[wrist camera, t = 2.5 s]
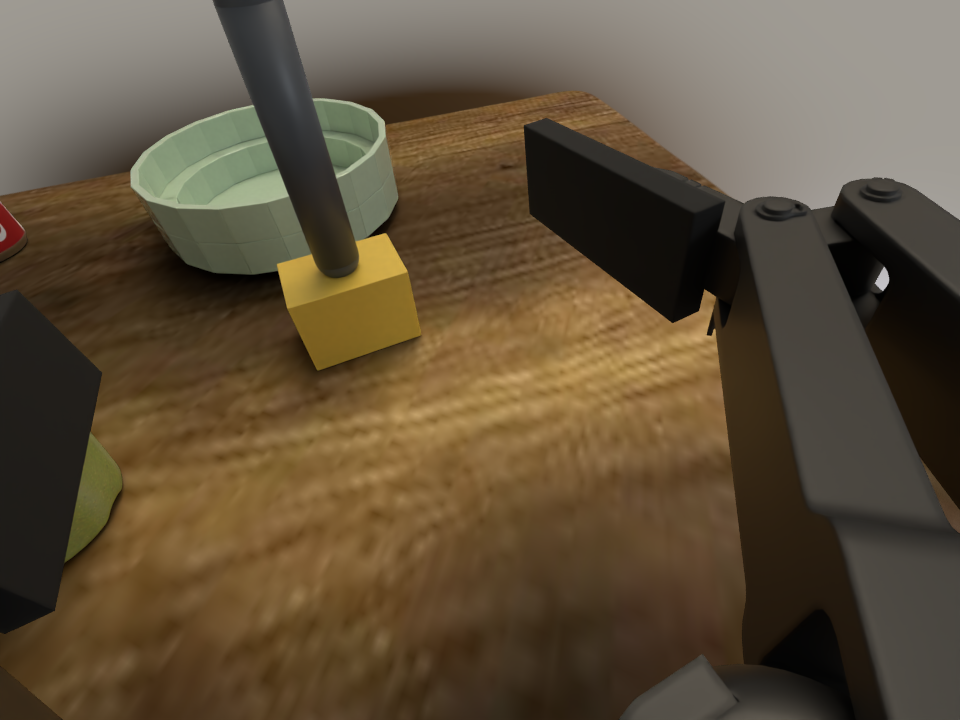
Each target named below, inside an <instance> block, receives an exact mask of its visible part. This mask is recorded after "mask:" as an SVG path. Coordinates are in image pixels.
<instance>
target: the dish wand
mask: <svg viewBox="0 0 960 720" xmlns="http://www.w3.org/2000/svg"><path fill="white" fill-rule="evenodd" d="M213 2H214V6H215V8H216V10H217V13H218V16H219V18H220V21H221V24H222V26H223V29H224V31H225V34H226V36H227V39H228V42H229V44H230V46H231V49H232V52H233V54H234V57H235V59H236V62H237V64H238V67H239V70H240V72H241V75H242V77H243V80H244V82H245V85H246V88H247V90H248V93H249V95H250V98H251V100H252V103H253V106H254V108H255V111H256V113H257V116H258V118H259V121H260V124H261V126H262V129H263V131H264V134H265V136H266V139H267V141H268V144H269V147H270V149H271V152H272V154H273V157H274V159H275V162H276V164H277V167H278V170H279V172H280V175H281V177H282V180H283V182H284V185H285V188H286V190H287V193H288V195H289V198H290V200H291V203H292V205H293V208H294V211H295V213H296V216H297V218H298V221H299V223H300V226H301V229H302V231H303V234H304V236H305V239H306V241H307V244H308V246H309V249H310V252H311V255H307V256H304V257H300V258H297V259H293V260H290V261H286V262H283V263H279V264H277V268H278V272H279V276H280V281H281V285H282V289H283V293H284V297H285V302H286V306H287V310H288V312H289V314H290V316H291V318H292V320H293V322H294V324H295V326H296V328H297V330H298V332H299V334H300V336H301V338H302V340H303V343H304V345H305V347H306V349H307V351H308V353H309V355H310V357H311V359H312V361H313V363H314V365H315V367H316V369H317V371H319V370H322V369H325V368H327V367H330V366H333V365H336V364H339V363H342V362H345V361H348V360H351V359H354V358H357V357H359V356H362V355H365V354H368V353H371V352H374V351H377V350H380V349H383V348H386V347H389V346H392V345H394V344H397V343H400V342H403V341H406V340H409V339H412V338H415V337H418V336H421V330H420V326H419V321H418V317H417V312H416V307H415V303H414V298H413V293H412V289H411V284H410V280H409V275H408V271H407V270H406V268H405V266H404V264H403V262H402V261H401V259H400V257H399V255H398V253H397V252H396V250H395V248H394V246H393V245H392V243H391V241H390V239H389V237H388V236H387V234H386V233H384V234H381V235H377V236H374V237H370V238H367V239H363V240H360V241H356V242H355V238H354V235H353V232H352V228H351V225H350V222H349V218H348V215H347V212H346V208H345V205H344V202H343V198H342V195H341V192H340V188H339V185H338V182H337V178H336V175H335V172H334V168H333V165H332V162H331V158H330V155H329V152H328V148H327V145H326V142H325V138H324V135H323V132H322V129H321V125H320V122H319V119H318V115H317V112H316V109H315V105H314V102H313V99H312V95H311V92H310V89H309V86H308V82H307V79H306V75H305V72H304V69H303V65H302V62H301V59H300V56H299V52H298V49H297V46H296V42H295V39H294V35H293V32H292V29H291V25H290V22H289V19H288V15H287V12H286V9H285V5H284V2H283V0H213Z"/></svg>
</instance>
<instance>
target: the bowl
mask: <svg viewBox="0 0 960 720" xmlns="http://www.w3.org/2000/svg"><path fill="white" fill-rule="evenodd" d="M313 102H314V105H315V109H316V112H317V115H318V119H319V122H320V125H321V129H322V132H323V135H324V138H325V142H326V145H327V148H328V152H329V155H330V158H331V162H332V165H333V168H334V172H335V175H336V178H337V182H338V185H339V188H340V192H341V195H342V198H343V202H344V205H345V208H346V212H347V215H348V218H349V222H350V225H351V228H352V232H353V235H354V238H355V242H356V241H360V240H363V239H365V238H366V237H368V236H369V235H370V234H372V233H373V232H374V231H375V230H376V229H377V228H378V227H379V226H380V225H381V224H383V223H384V222H385V221H386V220H387V219H388V218H389V216H390V214H391V212H392V210H393V208H394V206H395V204H396V202H397V200H398V189H397V180H396V176H395V171H394V166H393V161H392V156H391V151H390V146H389V141H388V136H387V131H386V126H385V122H384V120H382V118H380V117H379V116H378V115H377V114H376V113H375V112H374V111H373V110H372V109H369V108H366V107H363V106H361V105H358V104H356V103H353V102H347V101H339V100H332V99H313ZM131 188H132V190H133V191H134V193H135V194H136V196H137V197H138V199H139V200H140V202H141V203H142V205H143V206H144V208H145V210H146V211H147V213H148V214H149V216H150V217H151V219H152V220H153V222H154V223H155V225H156V227H157V228H158V230H159V231H160V233H161V234H162V236H163V237H164V239H165V240H166V242H167V243H168V245H169V247H170V248H171V249H172V250H173V251H174V252H175V253H176V254H177V255H178V256H179V257H180V258H181V259H182V260H183V261H184V262H185V263H186V264H188V265H191V266H194V267H197V268H200V269H203V270H206V271H210V272H213V273H226V274H248V275H252V274H253V275H255V274H261V273H268V272H274V271H278V268H277V264H279V263H283V262H286V261H290V260H293V259H297V258H300V257H304V256H307V255H311V252H310V249H309V246H308V244H307V241H306V239H305V236H304V234H303V231H302V229H301V226H300V223H299V221H298V218H297V216H296V213H295V211H294V208H293V205H292V203H291V200H290V198H289V195H288V193H287V190H286V188H285V185H284V182H283V180H282V177H281V175H280V172H279V170H278V167H277V164H276V162H275V159H274V157H273V154H272V152H271V149H270V147H269V144H268V141H267V139H266V136H265V134H264V131H263V129H262V126H261V124H260V121H259V118H258V116H257V113H256V111H255V108H254V106H253V105H251V106H247V107H243V108H238V109H233V110H229V111H226V112H223V113H220V114H217V115H214V116H211V117H208V118H205V119H202V120H199V121H196V122H194V123H192V124H190V125H188V126H186V127H184V128H182V129H180V130H178V131H175V132H173V133H171V134H169V135H167V136H166V137H164V138H163V139H162V140H160V141H159V142H157V143H156V144H154V145H153V146H152V147H150V148H149V149H148V150H146V151H145V152H144V153H143V154H142V155H141V156H140V158H139V159H138V161H137V162H136V163H135V165H134V166H133V167H132V169H131Z"/></svg>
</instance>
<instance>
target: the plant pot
mask: <svg viewBox="0 0 960 720" xmlns="http://www.w3.org/2000/svg"><path fill="white" fill-rule="evenodd" d="M121 489H122V475H121V471H120V469H119V467H118V465H117V464H116V462H115V461H114V460H113V459H112V458H111V456H110V455H109V454H108V453H107V451H106V450H105V449H104V447H103V446H102V445H101V444H100V443H99V442H98V440H97V439H96V438H95V437H94V436H93V434H92V433H91V432H90V436H89V441H88V446H87V451H86V456H85V461H84V466H83V472H82V477H81V482H80V487H79V492H78V497H77V502H76V507H75V512H74V517H73V522H72V527H71V532H70V537H69V542H68V547H67V552H66V557H65V562H66V561H68V560H69V559H71V558H72V557H73V556H74V555H76V554H77V553H78V552H79V551H81V550H82V549H83V548H84V547H85V546H86V545H87V544H88V543H90V542H91V540H92V539H93V538H94V537H95V536H96V535H97V534H98V533H99V532H100V531H101V529H102V528H103V527H104V526H105V524H106V523H107V521H108V518H109V514H110V510H111V507H112V505H113V502H114V500H115V498H116V496H117V495H118V493H119V492H120V491H121ZM65 562H64V563H65Z"/></svg>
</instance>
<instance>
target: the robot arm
mask: <svg viewBox="0 0 960 720" xmlns="http://www.w3.org/2000/svg"><path fill="white" fill-rule="evenodd" d="M524 136H525V151H526V165H527V180H528V194H529V209H530V214H531V215H532V216H533V217H535V218H536V219H537V220H539V221H540V222H541V223H543V224H544V225H545V226H546V227H548V228H549V229H550V230H552V231H553V232H554V233H556V234H557V235H558V236H560V237H561V238H562V239H563V240H565V241H566V242H567V243H569V244H570V245H571V246H573V247H574V248H575V249H577V250H578V251H579V252H580V253H582V254H583V255H584V256H586V257H587V258H588V259H590V260H591V261H592V262H594V263H595V264H596V265H597V266H599V267H600V268H601V269H603V270H604V271H605V272H607V273H608V274H609V275H610V276H612V277H613V278H614V279H616V280H617V281H618V282H620V283H621V284H622V285H624V286H625V287H626V288H627V289H629V290H630V291H631V292H633V293H634V294H635V295H637V296H638V297H639V298H641V299H642V300H643V301H644V302H646V303H647V304H648V305H650V306H651V307H652V308H654V309H655V310H656V311H658V312H659V313H660V314H661V315H663V316H664V317H665V318H667V319H668V320H669V321H671V322H672V323H674V322H676V321H678V320H681V319H683V318H685V317H687V316H689V315H691V314H693V313H696V312H698V311H699V309H700V304H701V300H702V296H703V292H704V289H705V290H707V291H708V292H710V293H711V294H713V295H714V296H716V301H715V305H714V309H713V312H712V316H711V320H710V323H709V327H708V331H707V335H709V336H712V333H713V329H715V330H716V338H717V347H718V355H719V363H720V372H721V380H722V388H723V397H724V405H725V414H726V422H727V430H728V439H729V447H730V455H731V464H732V472H733V481H734V489H735V497H736V506H737V514H738V522H739V531H740V539H741V548H742V556H743V564H744V573H745V581H746V603H745V609H744V615H743V623H742V644H743V657H744V664H734V665H721V666H714V667H712V666H711V665H710V663H709V662H708V661H707V659H706V658H705V657H704V655H703V654H702V655H700V656H699V657H697V658H696V659H694V660H693V661H691V662H690V663H688V664H687V665H685V666H684V667H682V668H681V669H679V670H678V671H677V672H675V673H674V674H672V675H671V676H669V677H668V678H666V679H665V680H663V681H662V682H660V683H659V684H657V685H656V686H654V687H653V688H651V689H650V690H648V691H647V692H645V693H644V694H642V695H641V696H639V697H638V698H636V699H635V700H633V702H632V703H631V704H630V706H629V707H628V708H627V710H626V711H625V712H624V713H623V715H622V716H621V717H620V719H619V720H960V533H958V532H957V531H956V530H955V529H953V528H952V527H951V525H950V523H949V522H948V520H947V518H946V517H945V514H944V512H943V510H942V508H941V505H940V503H939V501H938V498H937V496H936V494H935V491H934V489H933V487H932V485H931V482H930V480H929V478H928V475H927V473H926V471H925V468H924V466H923V464H922V462H921V459H922V461H923V462H924V463H925V464H926V466H927V467H928V468H929V470H930V471H931V472H932V474H933V475H934V476H935V478H936V479H937V480H938V482H939V483H940V484H941V486H942V487H943V488H944V490H945V491H946V492H947V494H948V495H949V496H950V498H951V499H952V500H953V501H954V503H955V504H956V505H957V507H958V508H959V509H960V220H959V219H957V218H956V217H954V216H953V215H951V214H950V213H949V212H947V211H946V210H944V209H943V208H942V207H940V206H938V205H937V204H936V203H934V202H933V201H932V200H930V199H929V198H927V197H926V196H925V195H923V194H922V193H920V192H919V191H917V190H916V189H914V188H912V187H910V186H908V185H906V184H903V183H900V182H896V181H894V180H893V179H888V178H884V179H882V178H872V179H860V180H855V181H851V182H849V183H847V184H845V185H843V187H842V189H841V191H840V194H839V196H838V199H837V201H836V204H835V206H832V207H826V208H820V209H814V210H811V209H810V208H809V207H808V206H807V205H805V204H803V203H801V202H799V201H796V200H792V199H788V198H783V197H761V198H755V199H753V200H749V201H747V202H746V203H742V202H740V201H737V200H735V199H733V198H731V197H729V196H726V195H724V194H722V193H720V192H718V191H715V190H713V189H711V188H709V187H707V186H701V184H700V183H698V182H696V181H693V180H688V178H687V177H684V176H682V175H680V174H678V173H676V172H673V171H670V170H665V169H660V168H654V167H651V166H649V165H647V164H645V163H643V162H640V161H638V160H636V159H634V158H632V157H630V156H628V155H625V154H623V153H621V152H619V151H617V150H615V149H612V148H610V147H608V146H606V145H604V144H602V143H600V142H597V141H595V140H593V139H591V138H589V137H587V136H584V135H582V134H580V133H578V132H576V131H574V130H571V129H569V128H567V127H565V126H563V125H561V124H559V123H556V122H554V121H552V120H550V119H548V118H545V119H542V120H539V121H536V122H533V123H530V124H527V125H524ZM883 267H885V268H886V270H887V271H888V275H889V284H888V285H887V287H886V288H885V289H884V291H882V290H880V289H879V288H878V287H877V286H876V284H875V282H876V280H877V278H878V276H879V274H880V272H881V270H882V269H883ZM101 376H102V372H101V371H100V370H99V369H98V368H97V367H96V366H95V365H94V364H93V363H92V362H91V361H89V360H88V359H87V358H86V357H85V356H84V355H83V354H82V353H81V352H80V351H79V350H78V349H77V348H76V347H75V346H74V345H73V344H72V343H71V342H70V341H69V340H68V339H67V338H66V337H65V336H64V335H63V334H62V333H61V332H60V331H59V330H58V329H57V328H56V327H55V326H54V325H53V324H52V323H51V322H50V321H49V320H48V319H47V318H46V317H45V316H44V315H42V314H41V313H40V312H39V311H38V310H37V309H36V308H35V307H34V306H33V305H32V304H31V303H30V302H29V301H28V300H27V299H26V298H25V297H24V296H23V295H22V294H21V293H20V292H19V291H18V290H14V291H11V292H8V293H5V294H2V295H0V633H3V634H6V633H8V632H10V631H13V630H15V629H17V628H19V627H21V626H23V625H25V624H28V623H30V622H32V621H34V620H36V619H38V618H40V617H43V616H45V615H47V614H49V613H51V612H53V611H55V607H56V602H57V597H58V592H59V587H60V582H61V577H62V572H63V567H64V562H65V557H66V552H67V547H68V542H69V537H70V532H71V527H72V522H73V517H74V512H75V507H76V502H77V497H78V492H79V487H80V482H81V477H82V472H83V466H84V461H85V456H86V451H87V446H88V441H89V436H90V431H91V426H92V421H93V416H94V411H95V406H96V401H97V396H98V391H99V386H100V381H101ZM920 458H921V459H920ZM0 720H62V719H61V718H60V717H59V716H58V715H57V714H56V713H54V712H53V711H52V710H51V709H50V708H49V707H47V706H46V705H45V704H44V703H43V702H42V701H41V700H39V699H38V698H37V697H36V696H35V695H34V694H32V693H31V692H30V691H29V690H28V689H27V688H25V687H24V686H23V685H22V684H21V683H20V682H19V681H17V680H16V679H15V678H14V677H13V676H12V675H10V674H9V673H8V672H7V671H6V670H5V669H4V668H2V667H1V666H0Z"/></svg>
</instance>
